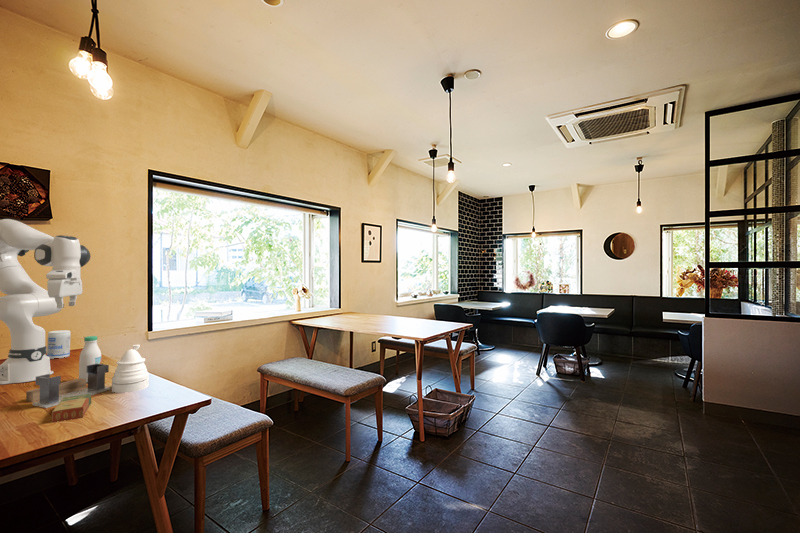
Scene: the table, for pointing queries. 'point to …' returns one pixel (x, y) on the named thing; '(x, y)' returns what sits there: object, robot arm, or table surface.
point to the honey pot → (130, 373)
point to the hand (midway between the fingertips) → (66, 307)
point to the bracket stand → (52, 397)
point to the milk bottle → (89, 356)
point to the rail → (63, 388)
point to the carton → (71, 408)
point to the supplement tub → (58, 344)
